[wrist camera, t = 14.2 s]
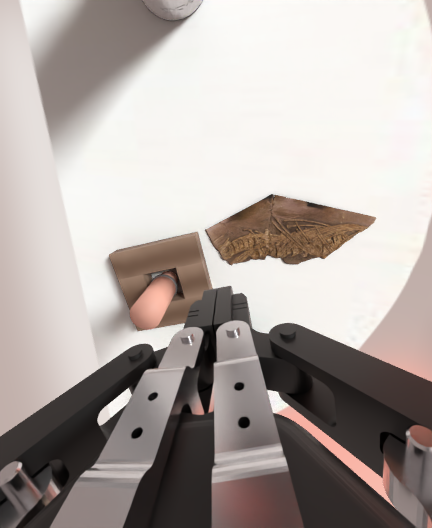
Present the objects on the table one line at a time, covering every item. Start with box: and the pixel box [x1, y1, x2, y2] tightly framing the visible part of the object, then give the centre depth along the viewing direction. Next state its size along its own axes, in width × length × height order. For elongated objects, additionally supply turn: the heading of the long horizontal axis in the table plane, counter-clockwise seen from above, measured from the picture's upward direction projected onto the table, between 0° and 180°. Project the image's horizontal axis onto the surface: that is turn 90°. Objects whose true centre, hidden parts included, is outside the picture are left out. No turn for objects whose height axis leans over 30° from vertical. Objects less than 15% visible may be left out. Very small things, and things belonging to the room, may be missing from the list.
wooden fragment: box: [205, 194, 376, 265], centre depth 38 cm, size 26×11×1 cm, turn 92°
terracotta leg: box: [130, 271, 178, 330], centre depth 36 cm, size 4×4×12 cm
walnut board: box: [109, 232, 213, 331], centre depth 41 cm, size 14×14×3 cm
